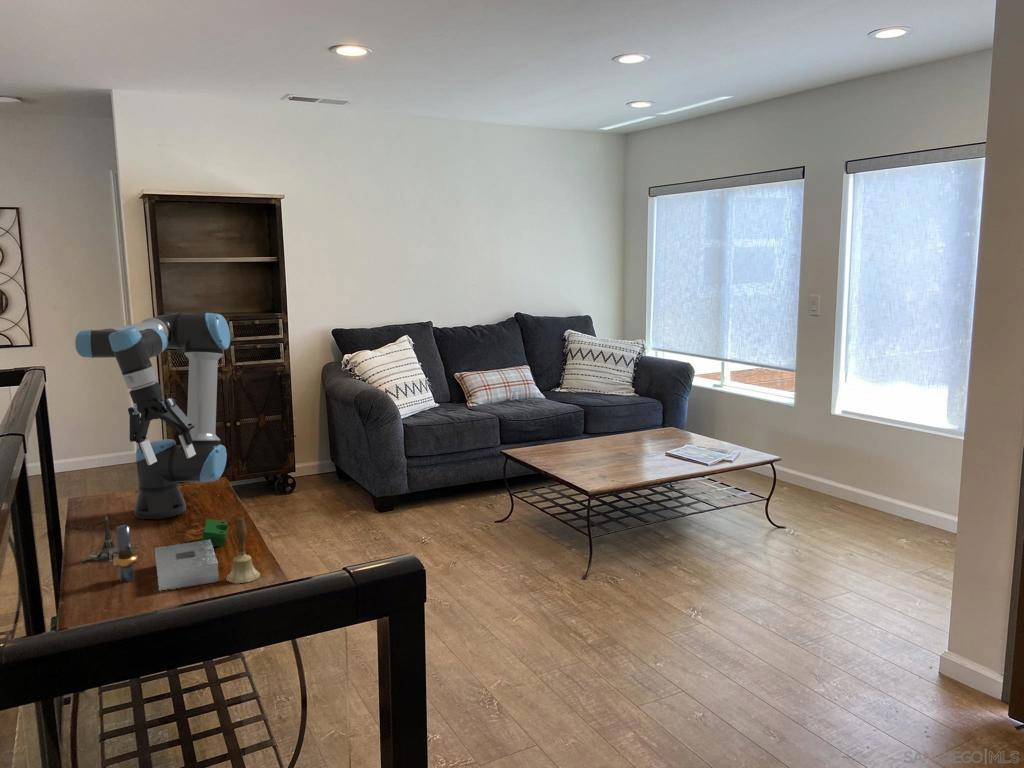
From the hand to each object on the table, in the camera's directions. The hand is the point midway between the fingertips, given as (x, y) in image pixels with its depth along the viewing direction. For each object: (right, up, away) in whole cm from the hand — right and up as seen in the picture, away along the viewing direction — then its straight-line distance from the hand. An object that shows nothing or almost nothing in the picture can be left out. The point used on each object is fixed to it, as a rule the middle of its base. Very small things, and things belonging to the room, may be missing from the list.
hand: (172, 459), depth 210 cm
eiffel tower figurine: (-19, -28, +6) cm, 35 cm away
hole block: (+6, -29, -5) cm, 30 cm away
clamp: (+6, -26, +15) cm, 31 cm away
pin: (-7, -30, -10) cm, 32 cm away
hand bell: (+22, -30, -8) cm, 38 cm away
